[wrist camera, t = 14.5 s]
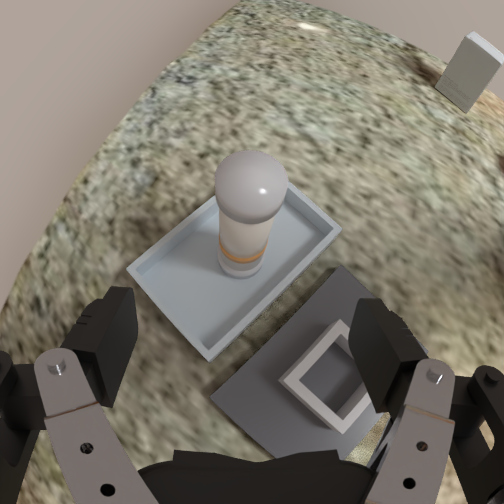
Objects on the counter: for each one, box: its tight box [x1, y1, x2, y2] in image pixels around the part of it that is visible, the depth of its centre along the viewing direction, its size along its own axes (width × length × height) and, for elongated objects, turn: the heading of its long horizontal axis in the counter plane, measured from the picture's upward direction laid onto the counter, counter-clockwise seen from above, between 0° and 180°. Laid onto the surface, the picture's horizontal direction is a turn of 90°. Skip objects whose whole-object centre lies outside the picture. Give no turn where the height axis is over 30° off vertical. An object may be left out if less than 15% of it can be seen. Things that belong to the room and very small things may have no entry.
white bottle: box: [215, 150, 288, 279], centre depth 23 cm, size 4×4×12 cm
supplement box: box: [435, 31, 504, 113], centre depth 38 cm, size 7×7×13 cm
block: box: [209, 265, 428, 460], centre depth 24 cm, size 16×12×4 cm
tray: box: [126, 181, 342, 363], centre depth 28 cm, size 16×10×3 cm, turn 135°
